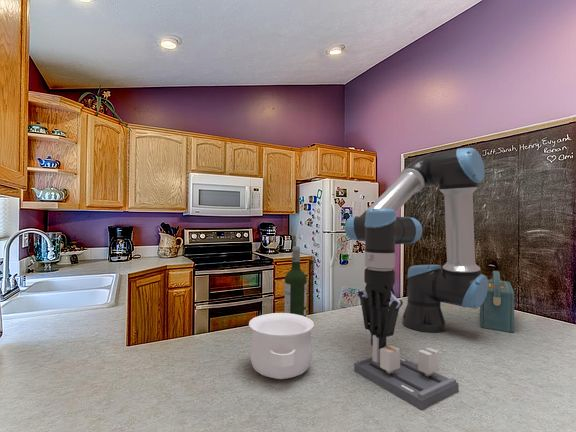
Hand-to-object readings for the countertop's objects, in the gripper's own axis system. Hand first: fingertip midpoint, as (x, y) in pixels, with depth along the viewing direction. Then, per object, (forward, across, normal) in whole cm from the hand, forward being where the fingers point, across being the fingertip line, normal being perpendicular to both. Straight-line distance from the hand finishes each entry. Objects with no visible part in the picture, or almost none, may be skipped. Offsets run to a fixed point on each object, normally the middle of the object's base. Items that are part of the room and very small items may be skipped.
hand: (378, 360), depth 81 cm
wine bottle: (+4, -39, 0) cm, 39 cm away
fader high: (+2, +9, +7) cm, 12 cm away
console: (+4, +5, +4) cm, 7 cm away
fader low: (+2, +4, 0) cm, 4 cm away
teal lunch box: (+4, -7, +76) cm, 76 cm away
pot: (+4, -16, -20) cm, 26 cm away
